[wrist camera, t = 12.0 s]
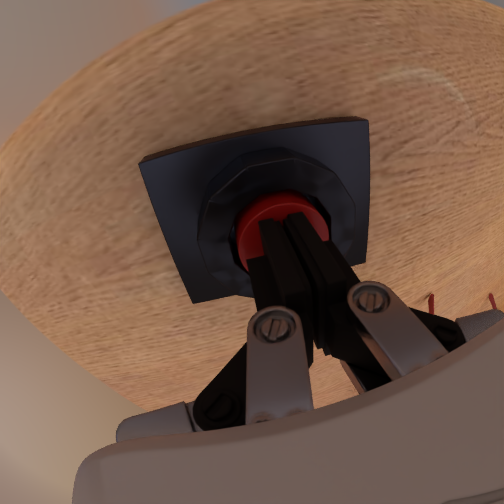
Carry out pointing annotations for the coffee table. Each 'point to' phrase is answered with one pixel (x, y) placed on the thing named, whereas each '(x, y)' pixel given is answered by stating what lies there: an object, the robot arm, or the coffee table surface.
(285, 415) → the robot arm
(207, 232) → the control block
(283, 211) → the button
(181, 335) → the coffee table surface
